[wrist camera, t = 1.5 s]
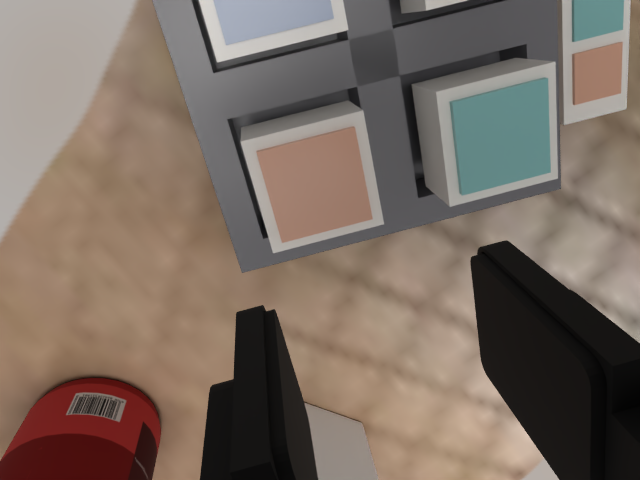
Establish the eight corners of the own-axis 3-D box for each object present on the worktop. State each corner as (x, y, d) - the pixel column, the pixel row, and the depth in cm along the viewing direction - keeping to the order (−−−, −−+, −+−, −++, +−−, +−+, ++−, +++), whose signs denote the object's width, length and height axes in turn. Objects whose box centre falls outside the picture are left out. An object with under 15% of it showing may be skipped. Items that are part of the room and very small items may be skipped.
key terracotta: (348, 100, 22) (364, 111, 19) (367, 201, 24) (386, 226, 21) (241, 127, 22) (240, 143, 19) (270, 226, 24) (273, 256, 21)
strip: (626, -128, 23) (638, -134, 22) (618, 107, 27) (629, 109, 27) (552, -111, 23) (562, -116, 22) (557, 123, 27) (566, 125, 26)
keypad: (513, -197, 21) (552, -231, 18) (530, 173, 28) (560, 188, 25) (128, -107, 21) (110, -128, 18) (242, 248, 28) (242, 272, 25)
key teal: (515, 57, 23) (559, 62, 19) (521, 161, 25) (561, 180, 21) (411, 84, 22) (438, 92, 19) (425, 186, 24) (452, 209, 21)
